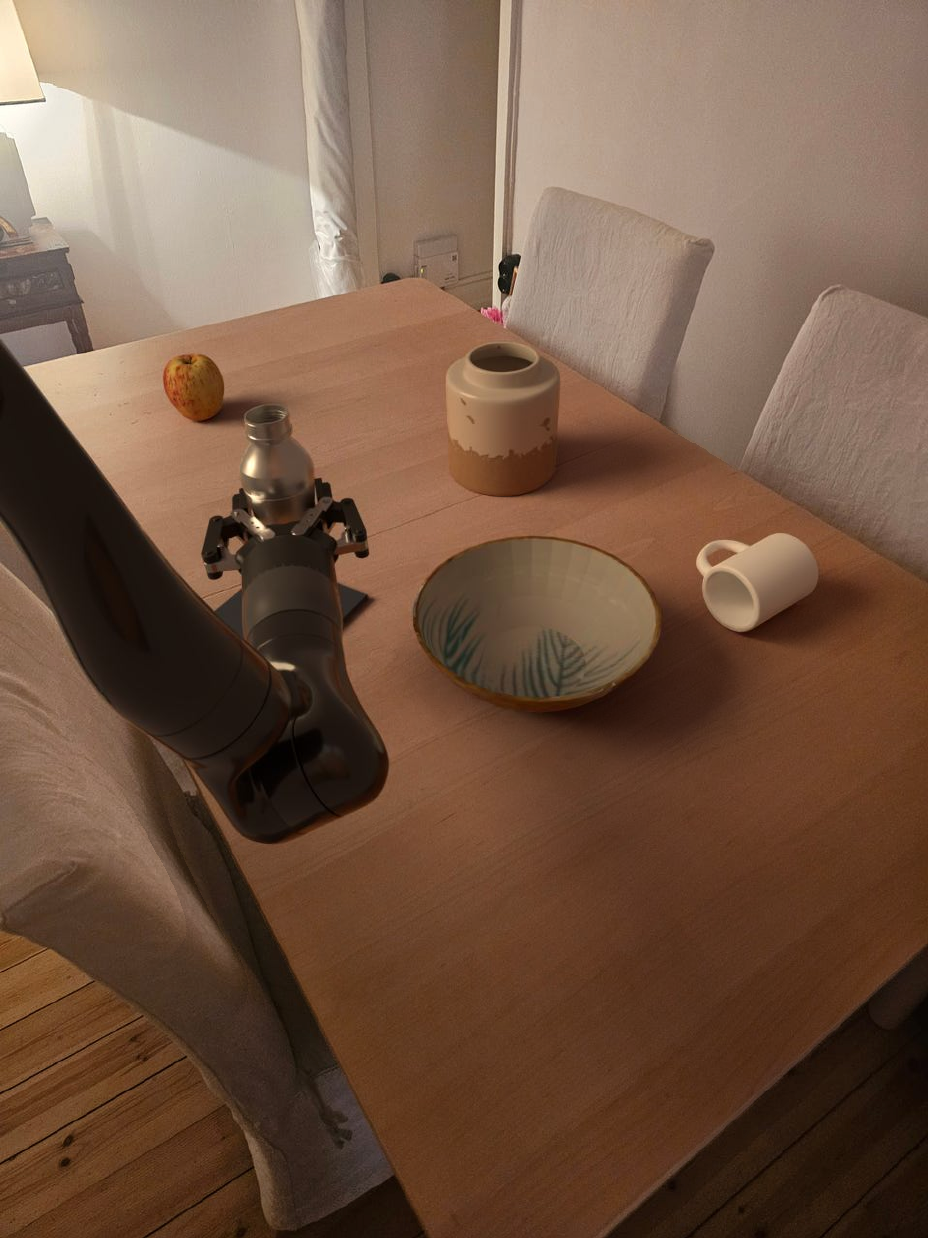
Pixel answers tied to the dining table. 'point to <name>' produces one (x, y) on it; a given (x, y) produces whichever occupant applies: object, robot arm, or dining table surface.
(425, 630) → the bowl
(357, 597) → the mat
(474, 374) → the vase
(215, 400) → the apple
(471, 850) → the dining table surface
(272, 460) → the silver metal bottle
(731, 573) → the mug
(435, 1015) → the dining table surface
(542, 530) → the dining table surface
